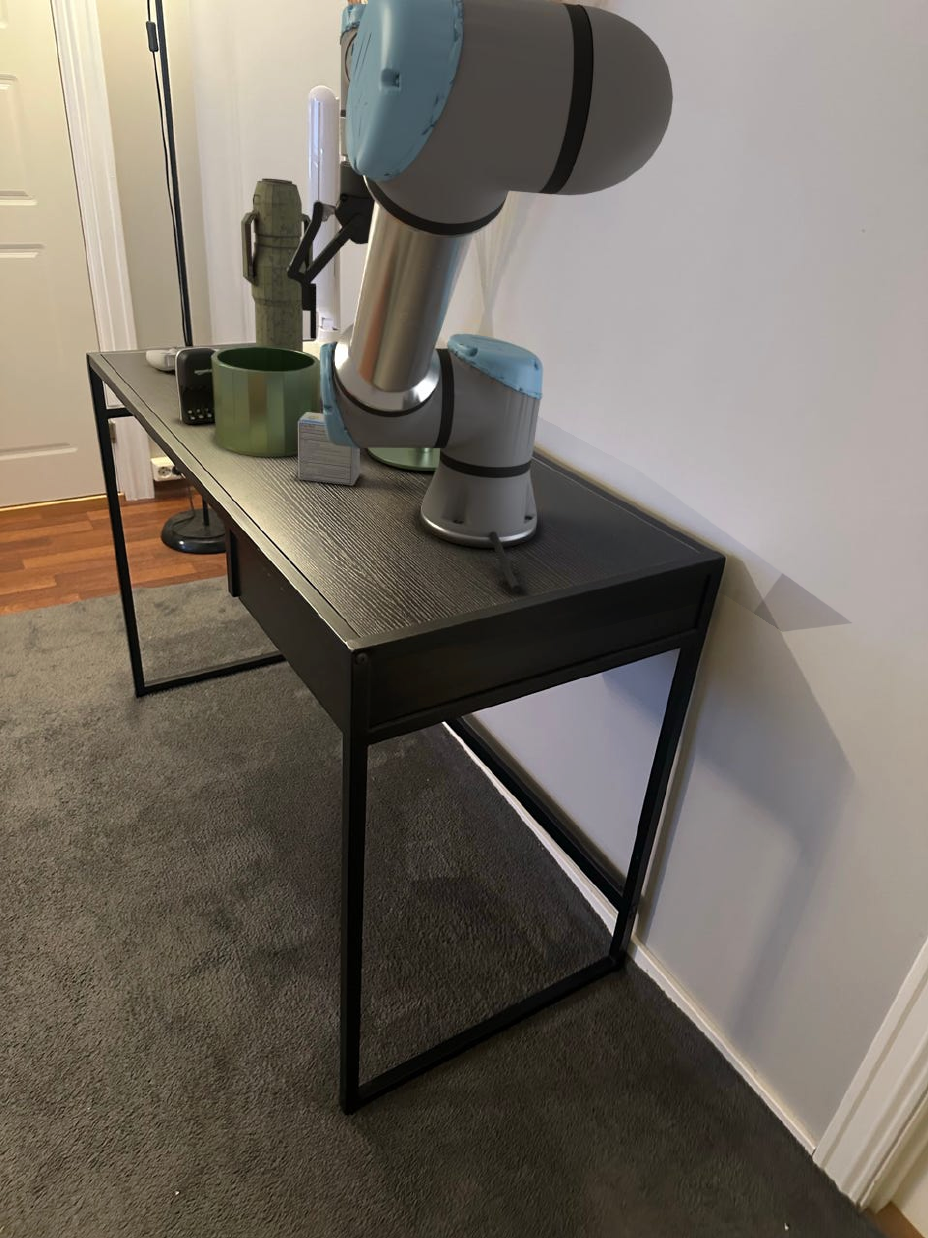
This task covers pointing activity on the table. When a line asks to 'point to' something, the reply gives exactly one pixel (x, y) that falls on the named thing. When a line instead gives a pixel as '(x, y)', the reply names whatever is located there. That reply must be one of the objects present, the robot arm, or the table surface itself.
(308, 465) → the medicine box
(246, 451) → the green pot
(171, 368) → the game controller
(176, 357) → the battery charger
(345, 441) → the robot arm
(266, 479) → the table surface
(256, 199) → the thermos
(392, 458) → the bin lid
